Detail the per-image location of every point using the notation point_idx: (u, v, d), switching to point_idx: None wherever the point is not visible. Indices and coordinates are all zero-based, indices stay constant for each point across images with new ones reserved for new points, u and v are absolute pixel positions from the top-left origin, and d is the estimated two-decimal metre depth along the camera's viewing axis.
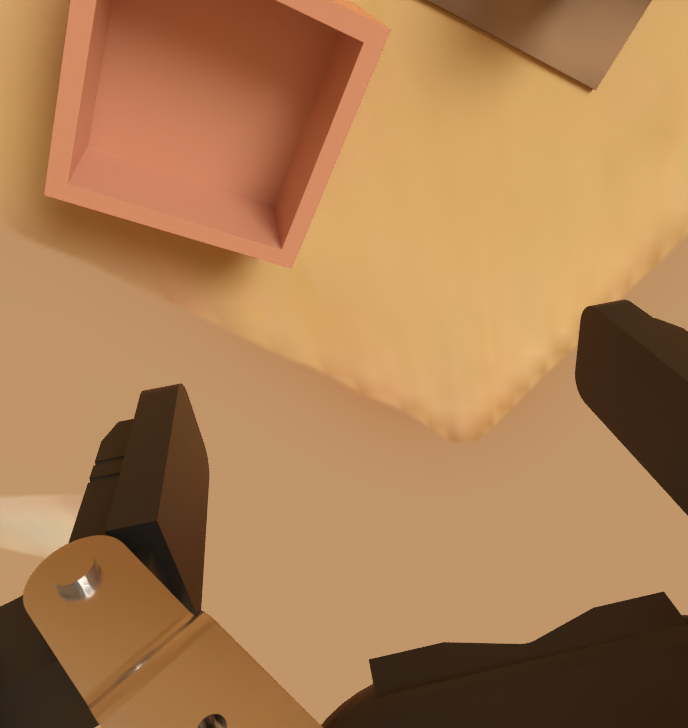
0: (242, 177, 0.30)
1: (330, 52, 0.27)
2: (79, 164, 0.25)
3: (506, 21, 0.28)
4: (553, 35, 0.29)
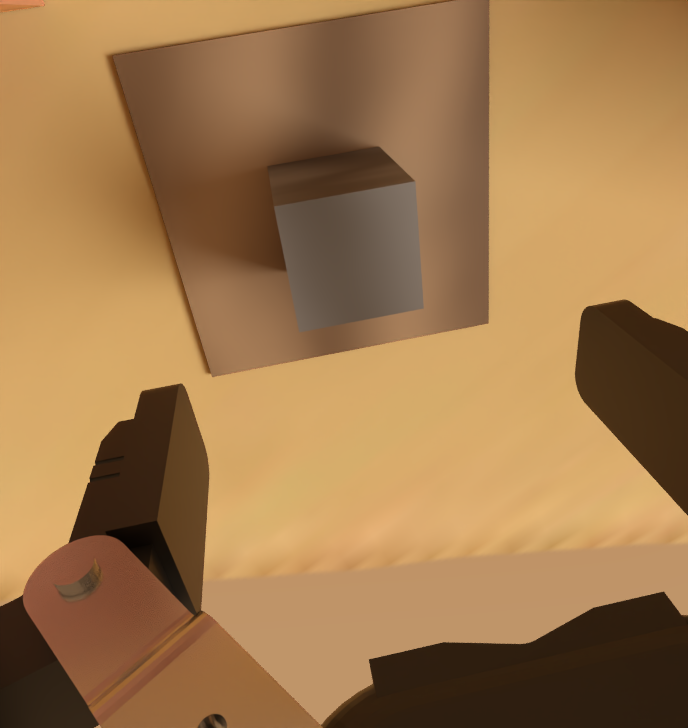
0: None
1: None
2: None
3: (186, 222, 0.21)
4: (217, 286, 0.22)
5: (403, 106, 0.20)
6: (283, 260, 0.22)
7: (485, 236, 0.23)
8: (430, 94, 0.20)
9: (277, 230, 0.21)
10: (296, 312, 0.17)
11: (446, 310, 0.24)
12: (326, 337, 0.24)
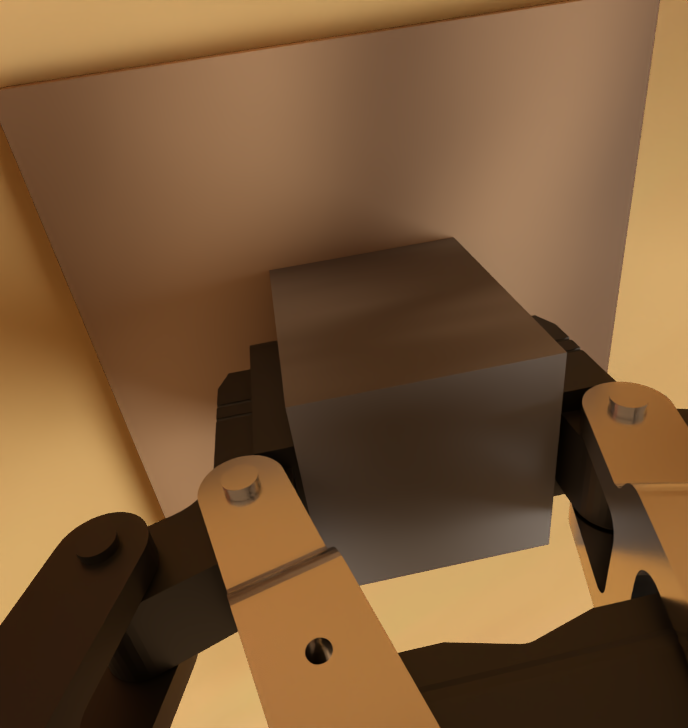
0: None
1: None
2: None
3: (136, 356, 0.13)
4: (189, 445, 0.14)
5: (498, 174, 0.12)
6: None
7: (604, 362, 0.15)
8: (544, 155, 0.12)
9: None
10: None
11: None
12: None
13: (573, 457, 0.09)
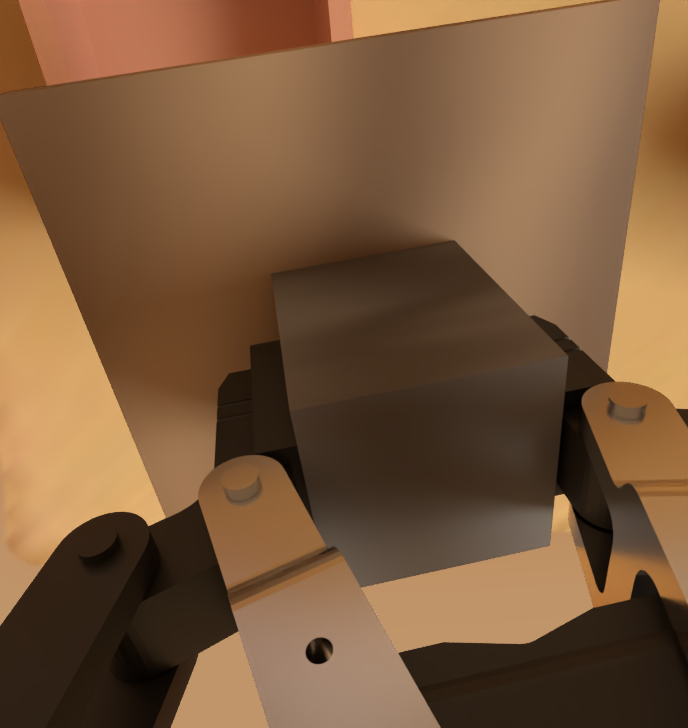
0: None
1: None
2: None
3: (138, 359, 0.13)
4: (190, 447, 0.14)
5: (498, 178, 0.12)
6: None
7: (603, 364, 0.15)
8: (544, 159, 0.12)
9: None
10: None
11: None
12: None
13: (573, 457, 0.09)
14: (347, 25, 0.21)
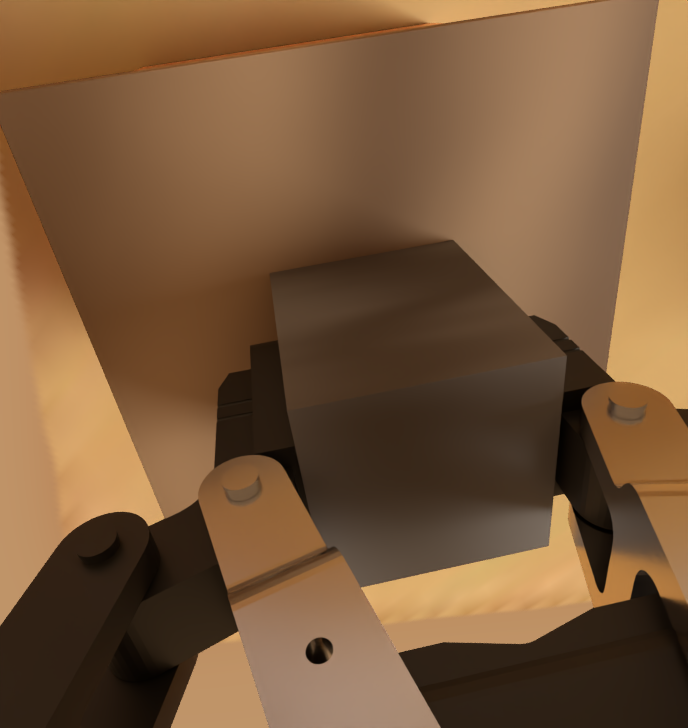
0: None
1: None
2: None
3: (136, 359, 0.13)
4: (189, 447, 0.14)
5: (497, 177, 0.12)
6: None
7: (602, 364, 0.15)
8: (543, 158, 0.12)
9: None
10: None
11: None
12: None
13: (573, 457, 0.09)
14: None
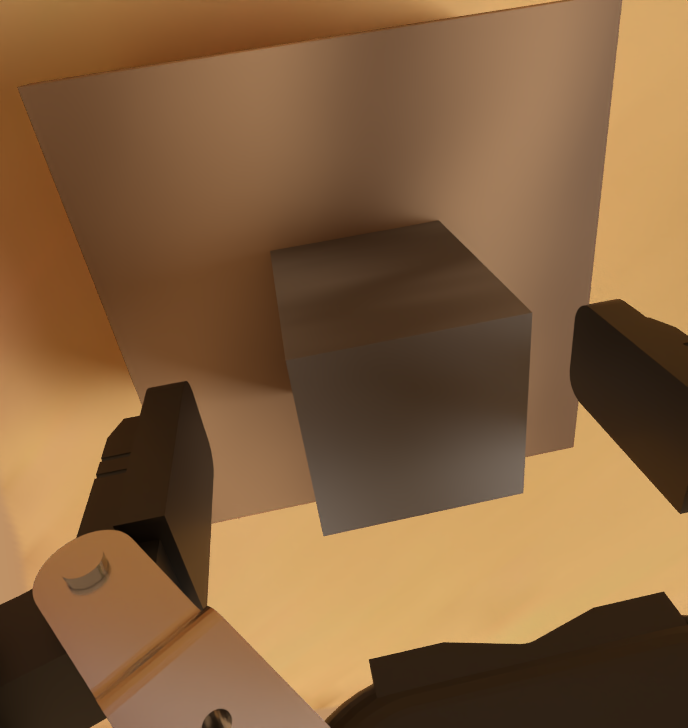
0: None
1: None
2: None
3: (147, 331, 0.14)
4: None
5: (478, 162, 0.13)
6: None
7: None
8: (520, 144, 0.13)
9: None
10: (319, 509, 0.11)
11: None
12: None
13: None
14: None
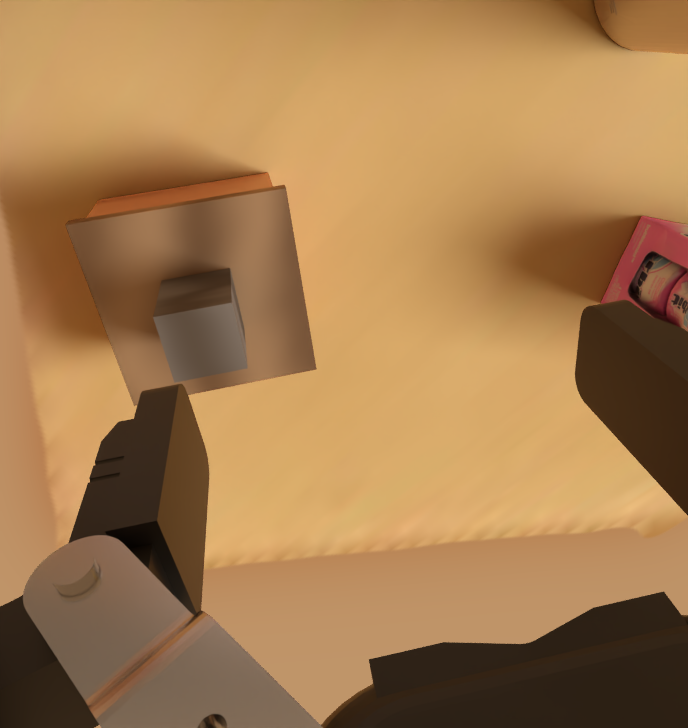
0: None
1: None
2: None
3: (112, 312, 0.34)
4: (134, 349, 0.35)
5: (242, 246, 0.33)
6: None
7: (305, 317, 0.36)
8: (258, 239, 0.33)
9: None
10: (171, 371, 0.31)
11: (286, 361, 0.37)
12: (208, 379, 0.37)
13: None
14: None
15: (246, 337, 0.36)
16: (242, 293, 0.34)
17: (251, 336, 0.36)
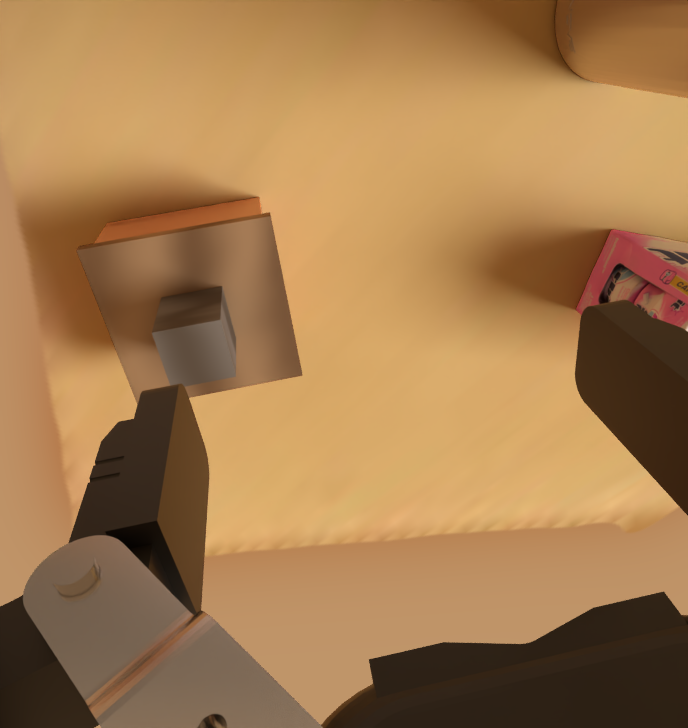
0: None
1: None
2: None
3: (118, 325, 0.38)
4: (138, 358, 0.39)
5: (232, 267, 0.37)
6: None
7: (291, 328, 0.40)
8: (246, 261, 0.37)
9: None
10: (168, 379, 0.35)
11: (275, 368, 0.41)
12: (205, 384, 0.41)
13: None
14: None
15: (238, 347, 0.40)
16: (233, 308, 0.38)
17: (242, 346, 0.40)
